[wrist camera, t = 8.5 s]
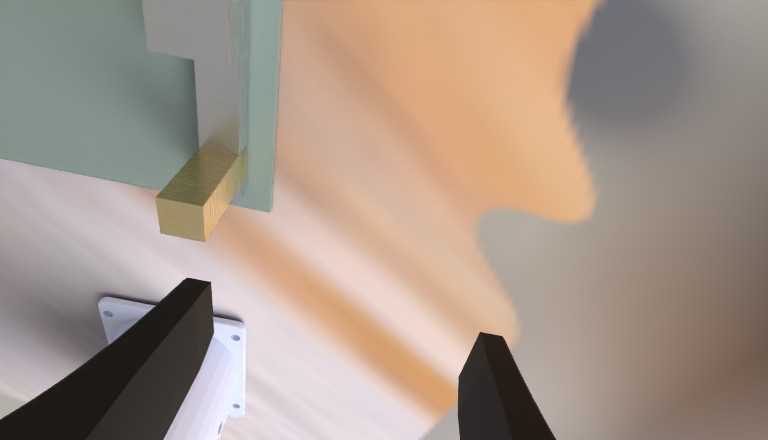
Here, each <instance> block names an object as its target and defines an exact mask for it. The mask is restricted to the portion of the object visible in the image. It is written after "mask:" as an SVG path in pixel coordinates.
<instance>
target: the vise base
mask: <svg viewBox="0 0 768 440" xmlns="http://www.w3.org/2000/svg"><path fill="white" fill-rule="evenodd" d="M282 14H283V0H249V35H248V121H247V191H246V193H245V194H244V196H243V198H242V199H241V201H240V203H239V204H238V203H233V202H230V203H229V204H230V205H235V206H240V207H245V208H250V209H255V210H260V211H265V212H270V211H271V209H272V201H273V183H274V164H275V145H276V126H277V108H278V89H279V70H280V51H281V33H282ZM198 149H199V134H198V118H197V101H196V84H195V67H194V60H192V59H187V58H182V57H178V56H173V55H168V54H164V53H159V52H155V51H150V50H148V48H147V40H146V31H145V23H144V15H143V6H142V0H0V158H1V159H6V160H11V161H16V162H21V163H26V164H31V165H36V166H41V167H46V168H51V169H56V170H61V171H66V172H71V173H76V174H81V175H86V176H91V177H96V178H101V179H105V180H110V181H115V182H120V183H125V184H130V185H135V186H140V187H145V188H150V189H155V190H160V191H162V190H163V189H164V187H165V186H166V185H167V184H168V183H169V182H170V181H171V179H172V178H173V177H174V176H175V175H176V174H177V173H178V171H179V170H180V169H181V168H182V167H183V166H184V165H185V164H186V162H187V161H188V160H189V159H190V158H191V157H192V156H193V154H194V153H195V152H196V151H197V150H198Z"/></svg>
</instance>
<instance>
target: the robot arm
mask: <svg viewBox="0 0 768 440" xmlns="http://www.w3.org/2000/svg"><path fill="white" fill-rule="evenodd" d="M98 308H99V312H100V316H101V319H102V323H103V326H104V330H105V334H106V337H107V341H108V346H107V347H105V348H104V349H103V350H101V351H100V352H99V353H97V354H96V355H95V356H94V357H92V358H91V359H90V360H88V361H87V362H86V363H84V364H83V365H82V366H80V367H79V368H78V369H76V370H75V371H74V372H72V373H71V374H69V375H68V376H67V377H65V378H64V379H62V380H61V381H59V382H58V383H57V384H55V385H54V386H52V387H51V388H49V389H48V390H46V391H45V392H43V393H42V394H40V395H39V396H37V397H36V398H34V399H33V400H31V401H29V402H28V403H26V404H25V405H23V406H21V407H20V408H19V409H17V410H15V411H13V412H12V413H10V414H9V415H7V416H5V417H4V418H2V419H1V420H0V440H219V438H220V435H221V432H222V430H223V427H224V425H225V422H226V419H227V417H233V418H242V417H243V416H244V413H245V400H246V331H247V329H246V326H245V325H244V324H243V323H241V322H239V321H234V320H229V319H223V318H218V317H213V306H212V290H211V282H208V281H202V280H197V279H192V278H186V279H185V280H183V281H182V282H181V283H180V284H179V285H178V286H177V287H176V288H174V289H173V290H172V291H171V292H170V293H169V294H168V295H167V296H166V297H165V298H163V299H162V300H161V301H160V302H159V303H158V304H157V305H156V306H154V305H149V304H144V303H139V302H133V301H128V300H123V299H117V298H112V297H103V298H102V299H101V300H100V301H99V303H98ZM458 421H459V433H460V440H556V438H555V437H554V435H553V433H552V432H551V430H550V428H549V427H548V425H547V423H546V421H545V419H544V417H543V415H542V414H541V412H540V410H539V408H538V406H537V404H536V402H535V401H534V399H533V397H532V395H531V393H530V391H529V389H528V387H527V385H526V383H525V381H524V379H523V377H522V375H521V373H520V371H519V369H518V367H517V365H516V363H515V361H514V359H513V356H512V354H511V352H510V350H509V348H508V346H507V344H506V341H505V339H504V338H503V336H498V335H493V334H488V333H482V332H480V333H479V336H478V338H477V340H476V342H475V344H474V346H473V348H472V350H471V352H470V354H469V357H468V359H467V361H466V363H465V365H464V367H463V369H462V371H461V373H460V375H459V385H458Z"/></svg>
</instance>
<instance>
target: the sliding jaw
mask: <svg viewBox="0 0 768 440" xmlns="http://www.w3.org/2000/svg"><path fill="white" fill-rule="evenodd" d="M142 6H143V15H144V23H145V31H146V40H147V48H148V50H150V51H155V52H159V53H164V54H168V55H173V56H178V57H182V58H187V59H192V60H194V67H195V84H196V101H197V118H198V134H199V149H198V150H197V151H196V152H195V153H194V154H193V156H192V157H191V158H190V159H189V160H188V161H187V162H186V164H185V165H184V166H183V167H182V168H181V169H180V170H179V171H178V173H177V174H176V175H175V176H174V177H173V178H172V179H171V181H170V182H169V183H168V184H167V185H166V186H165V187H164V189H163V190H162V191H161V192H160V193H159V194H158V195H157V196H156V202H157V210H158V217H159V224H160V232H161V234H167V235H172V236H177V237H182V238H187V239H192V240H197V241H202V242H205V241H206V240H207V238H208V237H209V235H210V233H211V232H212V230H213V229H214V227H215V226H216V224H217V222H218V221H219V219H220V218H221V216H222V214H223V213H224V211H225V210H226V208H227V207H228V205H229V203H230V202H233V203H238V204H239V203H240V201H241V199H242V198H243V196H244V194H245V193H246V191H247V121H248V35H249V0H142Z"/></svg>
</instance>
